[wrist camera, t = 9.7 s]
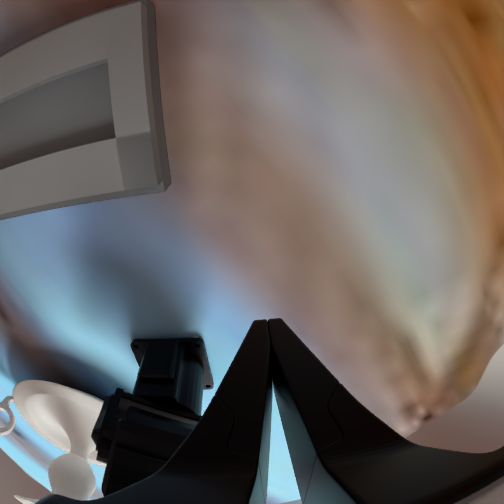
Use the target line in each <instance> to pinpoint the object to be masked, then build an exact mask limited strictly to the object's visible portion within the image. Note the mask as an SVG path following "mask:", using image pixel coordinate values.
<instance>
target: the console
mask: <svg viewBox="0 0 504 504" xmlns="http://www.w3.org/2000/svg"><path fill="white" fill-rule="evenodd" d="M170 184H171V177H170V170H169V163H168V155H167V148H166V139H165V131H164V122H163V113H162V103H161V93H160V82H159V70H158V56H157V41H156V21H155V6H154V5H153V4H152V3H151V2H150V1H149V0H135V1H131V2H127V3H123V4H120V5H116V6H113V7H110V8H107V9H103V10H100V11H97V12H94V13H91V14H89V15H86V16H83V17H80V18H78V19H75V20H72V21H70V22H67V23H65V24H63V25H60V26H58V27H55V28H53V29H51V30H49V31H46V32H44V33H42V34H40V35H38V36H36V37H34V38H32V39H30V40H28V41H26V42H24V43H22V44H20V45H18V46H16V47H14V48H12V49H11V50H9V51H7V52H5V53H4V54H2V55H0V220H3V219H7V218H12V217H16V216H21V215H26V214H31V213H36V212H41V211H46V210H51V209H56V208H62V207H67V206H73V205H78V204H84V203H90V202H96V201H103V200H109V199H116V198H122V197H129V196H137V195H144V194H152V193H160V192H165V191H166V189H167V188H168V187H169V186H170Z"/></svg>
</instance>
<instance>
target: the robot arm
mask: <svg viewBox="0 0 504 504" xmlns="http://www.w3.org/2000/svg"><path fill="white" fill-rule="evenodd" d="M196 343H198V344H196ZM137 345H138V346H137ZM131 348H132V351H133V353H134V355H135V358H136V360H137V362H138V365H139V367H140V368H139V371H138V376H137V380H136V383H135V387H134V390H133V394H130V393H128V392H125V391H123V389H120V388H118V387H117V389H116V392H115V395H113V394H112V395H111V396H105V399H104V402H103V405H102V408H101V411H100V414H99V416H98V419H97V421H96V423H95V426H94V428H93V431H92V434H91V438H92V440H93V441H94V443H95V445H96V449H95V451H98V453H97V458H96V460H97V461H99V462H102V463H105V464H106V469H105V473H104V477H103V482H102V493H103V495H104V497H102V498H99V499H96V500H76V499H72V498H69V497H66V496H62V495H59V494H49V495H47V496H46V497H43V498H42V499H40V500H38V501H37V502H36V503H35V504H266V499H267V484H268V468H269V451H270V433H271V414H272V389H273V388H274V393H275V397H276V401H277V405H278V409H279V413H280V417H281V421H282V425H283V429H284V433H285V437H286V441H287V445H288V449H289V453H290V457H291V461H292V465H293V469H294V473H295V477H296V481H297V485H298V489H299V493H300V497H301V500H302V504H504V446H503V447H501V448H500V449H498V450H495V451H492V452H488V453H467V452H459V451H452V450H445V449H438V448H432V447H426V446H421V445H417V444H415V443H412V442H410V441H409V440H407V439H405V438H404V437H402V436H401V435H399V434H398V433H397V432H395V431H394V430H393V429H392V428H390V427H389V426H388V425H387V424H385V423H384V422H383V421H381V420H380V419H379V418H378V417H376V416H375V415H374V414H373V413H371V412H370V411H369V410H368V409H367V408H366V407H364V406H363V405H362V404H361V403H360V402H359V401H358V400H357V399H355V398H354V397H353V396H352V395H351V394H350V393H349V392H348V391H347V389H346V388H345V387H344V386H343V385H342V384H341V383H339V381H338V380H337V379H336V378H335V377H334V376H333V375H332V373H331V372H330V371H329V370H328V369H327V368H326V367H325V366H324V365H323V364H322V363H321V362H320V360H319V359H318V358H317V357H316V356H315V355H314V354H313V353H312V352H311V351H310V350H309V348H308V347H307V346H306V345H305V344H304V343H303V342H302V341H301V340H300V339H299V338H298V336H297V335H296V334H295V333H294V332H293V331H292V330H291V329H290V328H289V327H288V325H287V324H286V323H285V322H284V321H283V320H282V319H281V318H276V319H269V320H268V322H267V320H265V319H264V320H255V321H253V323H252V325H251V327H250V329H249V331H248V333H247V334H246V336H245V338H244V340H243V342H242V344H241V346H240V348H239V350H238V352H237V354H236V356H235V357H234V359H233V361H232V363H231V365H230V367H229V369H228V371H227V373H226V374H225V376H224V378H223V380H222V382H221V384H220V386H219V387H218V389H217V391H216V393H215V396H213V398H212V400H211V402H210V404H209V406H208V407H207V409H206V411H205V412H204V414H203V416H201V408H202V396H203V390H205V389H212V388H213V384H214V383H213V379H212V374H211V370H210V366H209V362H208V358H207V354H206V349H205V345H204V341H203V340H202V339H200V338H181V339H134V340H132V342H131ZM272 382H273V386H272Z"/></svg>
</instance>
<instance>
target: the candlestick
mask: <svg viewBox="0 0 504 504" xmlns="http://www.w3.org/2000/svg"><path fill="white" fill-rule="evenodd" d="M11 402H14V403H15V405H16V407H17V409H18V411H19V412H20V414H21V415H22V417H23V418H24V419H25V420H26V422H27V423H28V424H29V425H30V426H31V427H32V428H33V429H34V430H35V431H37V432H38V433H39V434H40V435H41V436H43V437H44V438H45V439H46V440H48V441H49V442H51V443H52V444H54V445H55V446H57V447H59V448H60V449H62V450H64V451H66V452H68V453H69V454H64V455H61V456H59V457H58V458H56V459H55V460H54V461H53V462H52V463H51V465H50V467H49V472H48V475H49V481H50V484H51V487H52V494H59V495H62V496H66V497H69V498H72V499H76V500H87V499H88V498H89V497H90V496H91V495H92V494H93V493H94V490H95V488H96V481H95V476H94V473H93V470H92V468H91V466H90V465H89V464H88V462H91V463H94V464H97V465H100V466H104V467H106V464H105V463H102V462H99V461H97V460H96V458H97V453H98V451H95V449H96V445H95V443H94V441H93V440H92V438H91V434H92V431H93V428H94V426H95V423H96V421H97V419H98V416H99V414H100V411H101V408H102V405H103V402H104V401H103V400H101V399H99V398H97V397H95V396H93V395H90V394H88V393H85V392H83V391H80V390H77V389H73V388H70V387H67V386H64V385H60V384H57V383H53V382H48V381H43V380H25V381H21V382H19V383H18V384H16V386H15V387H14V389H13V396H7V397H6V398H5V399H4V400H3V401H2V402H1V403H0V410H3V411H5V412H7V413H8V414H9V417H10V421H9V424H8V425H7V426H6V427H5V428H2V429H0V435H7V434H9V433H10V432H11V431H12V430H13V429H14V426H15V417H14V415H13V413H12V411H11V409H10V408H9V405H10V403H11ZM87 461H88V462H87ZM14 497H15V498H16V499H17V500H19V501H20V502H22V503H23V504H35V503H36V502H37V501H38V500H35V499H30V498H26V497H22V496H18V495H14Z"/></svg>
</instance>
